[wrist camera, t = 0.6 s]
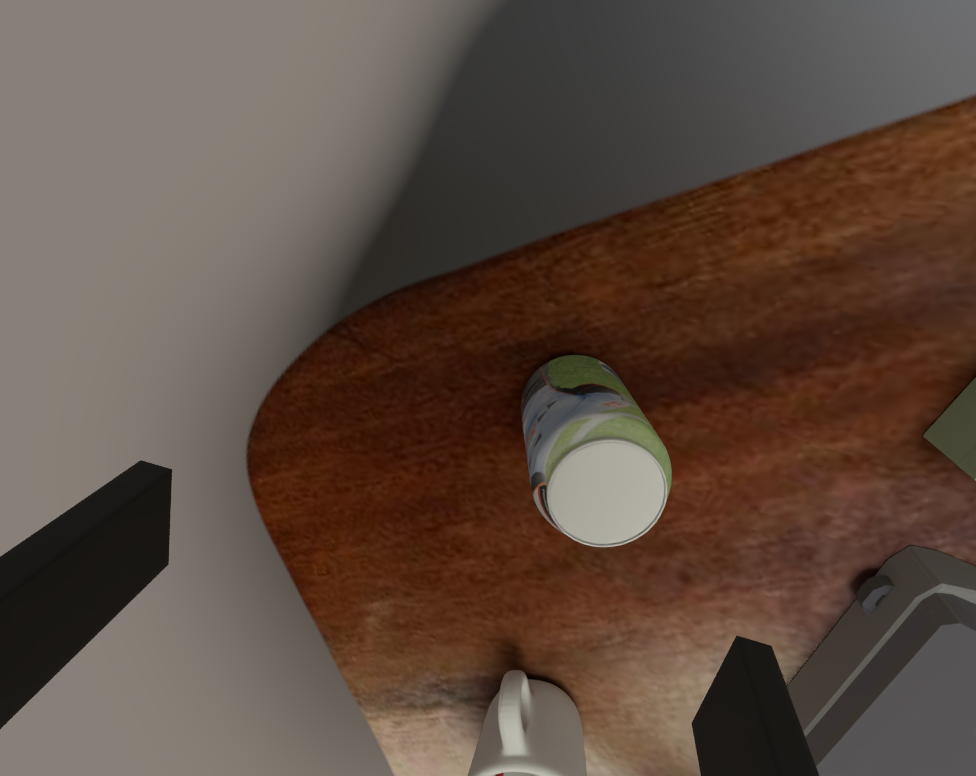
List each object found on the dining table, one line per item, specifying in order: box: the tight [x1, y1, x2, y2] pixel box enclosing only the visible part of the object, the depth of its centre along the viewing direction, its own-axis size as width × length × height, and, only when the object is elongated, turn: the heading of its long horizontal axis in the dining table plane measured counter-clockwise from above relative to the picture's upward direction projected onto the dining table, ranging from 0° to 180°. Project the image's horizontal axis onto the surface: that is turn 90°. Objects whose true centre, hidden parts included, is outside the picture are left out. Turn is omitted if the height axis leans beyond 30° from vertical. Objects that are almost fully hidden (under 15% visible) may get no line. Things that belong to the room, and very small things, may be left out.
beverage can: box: [521, 355, 672, 547], centre depth 30 cm, size 6×7×12 cm
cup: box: [468, 670, 587, 776], centre depth 41 cm, size 11×8×8 cm
